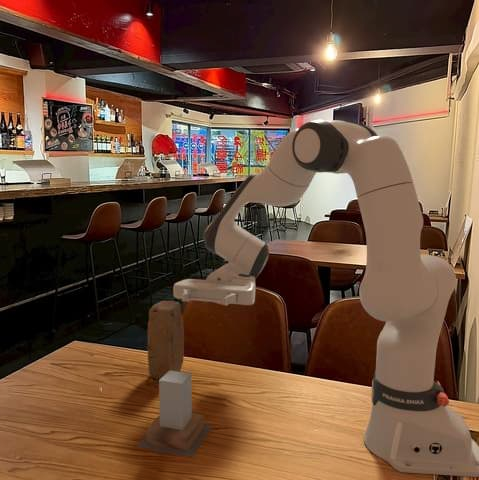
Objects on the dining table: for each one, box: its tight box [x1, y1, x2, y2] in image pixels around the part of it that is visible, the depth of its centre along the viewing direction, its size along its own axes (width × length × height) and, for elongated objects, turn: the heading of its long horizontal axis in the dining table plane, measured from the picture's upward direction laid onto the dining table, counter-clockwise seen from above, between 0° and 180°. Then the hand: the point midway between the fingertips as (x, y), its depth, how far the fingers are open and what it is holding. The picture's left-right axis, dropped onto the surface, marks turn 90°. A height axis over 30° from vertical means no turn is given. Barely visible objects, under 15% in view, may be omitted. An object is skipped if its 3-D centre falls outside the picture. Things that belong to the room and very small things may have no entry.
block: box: [147, 300, 185, 381], centre depth 128 cm, size 11×8×20 cm
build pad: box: [136, 423, 213, 458], centre depth 99 cm, size 12×12×1 cm
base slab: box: [145, 412, 205, 451], centre depth 98 cm, size 9×9×3 cm
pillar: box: [158, 370, 193, 430], centre depth 97 cm, size 5×5×10 cm
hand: (203, 300), depth 108 cm, fingers open, 8 cm apart
